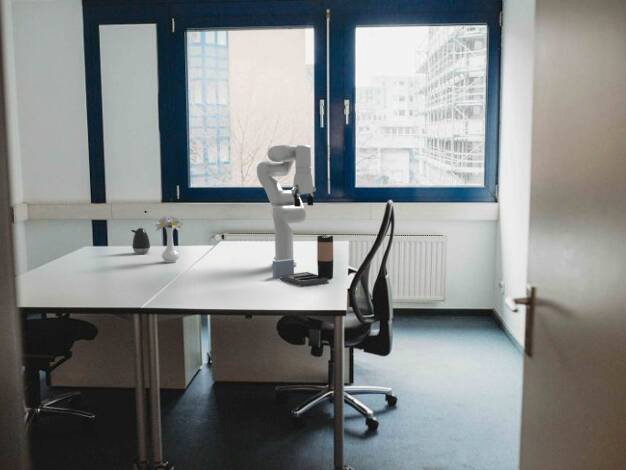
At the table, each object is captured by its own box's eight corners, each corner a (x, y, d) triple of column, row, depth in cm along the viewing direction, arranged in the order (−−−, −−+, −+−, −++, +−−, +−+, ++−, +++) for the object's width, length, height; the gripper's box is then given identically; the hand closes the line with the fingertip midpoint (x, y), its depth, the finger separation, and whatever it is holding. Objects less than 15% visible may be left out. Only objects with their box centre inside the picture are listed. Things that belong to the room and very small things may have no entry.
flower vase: (185, 258, 384) (184, 214, 381) (178, 264, 366) (176, 218, 363) (162, 258, 385) (161, 214, 382) (154, 264, 367) (152, 218, 363)
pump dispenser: (130, 252, 407) (129, 227, 405) (148, 251, 411) (147, 226, 409) (134, 255, 398) (132, 229, 396) (152, 254, 402) (151, 228, 400)
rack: (280, 279, 323) (280, 274, 323) (305, 276, 331) (305, 270, 330) (302, 286, 307) (302, 281, 306) (328, 283, 314) (328, 277, 314)
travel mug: (320, 279, 322) (319, 237, 320) (315, 276, 330) (315, 235, 327) (335, 278, 324) (335, 236, 322) (330, 275, 332) (330, 234, 329)
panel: (272, 277, 330) (272, 260, 329) (290, 275, 335) (290, 258, 334) (275, 278, 327) (275, 261, 326) (293, 276, 332) (293, 259, 331)
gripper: (308, 170, 340) (309, 204, 342) (285, 171, 327) (286, 207, 329) (320, 170, 336) (321, 205, 338) (297, 171, 322) (298, 207, 324)
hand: (303, 206), depth 333 cm, fingers open, 9 cm apart
